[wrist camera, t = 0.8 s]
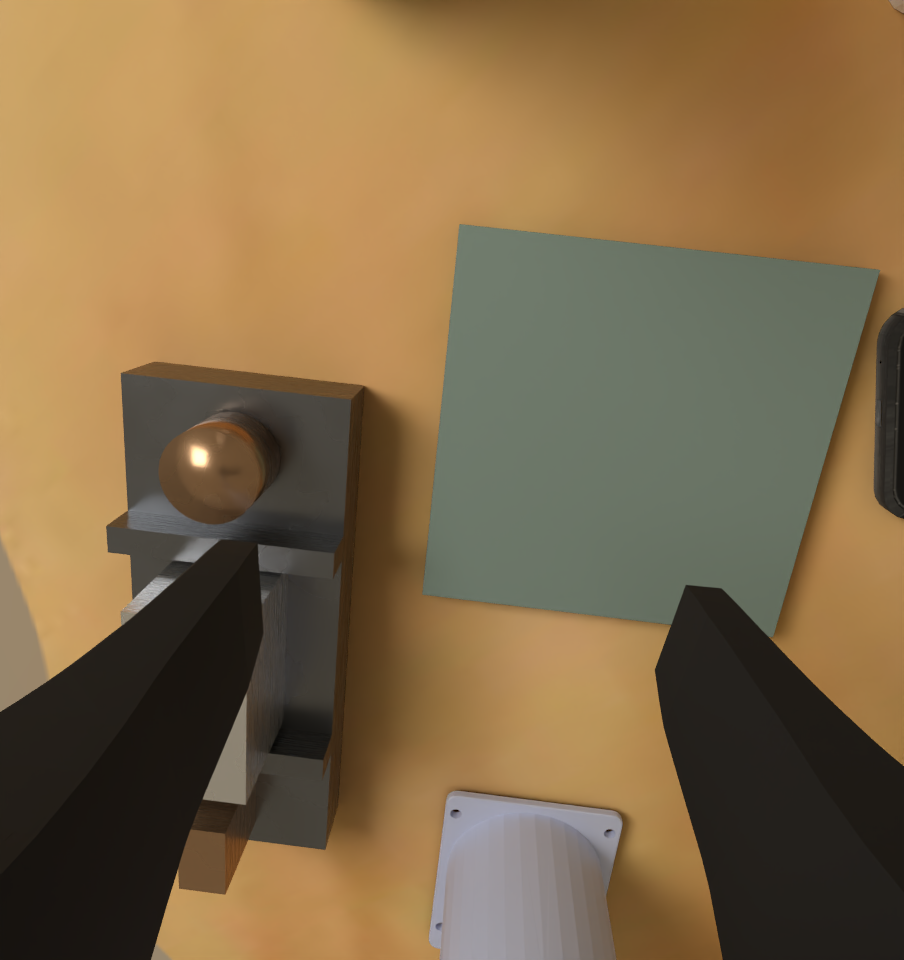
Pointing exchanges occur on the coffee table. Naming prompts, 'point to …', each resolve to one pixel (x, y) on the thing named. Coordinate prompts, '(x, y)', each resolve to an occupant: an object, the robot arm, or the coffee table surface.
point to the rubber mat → (633, 422)
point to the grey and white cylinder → (898, 5)
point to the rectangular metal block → (263, 695)
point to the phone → (890, 416)
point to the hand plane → (281, 549)
